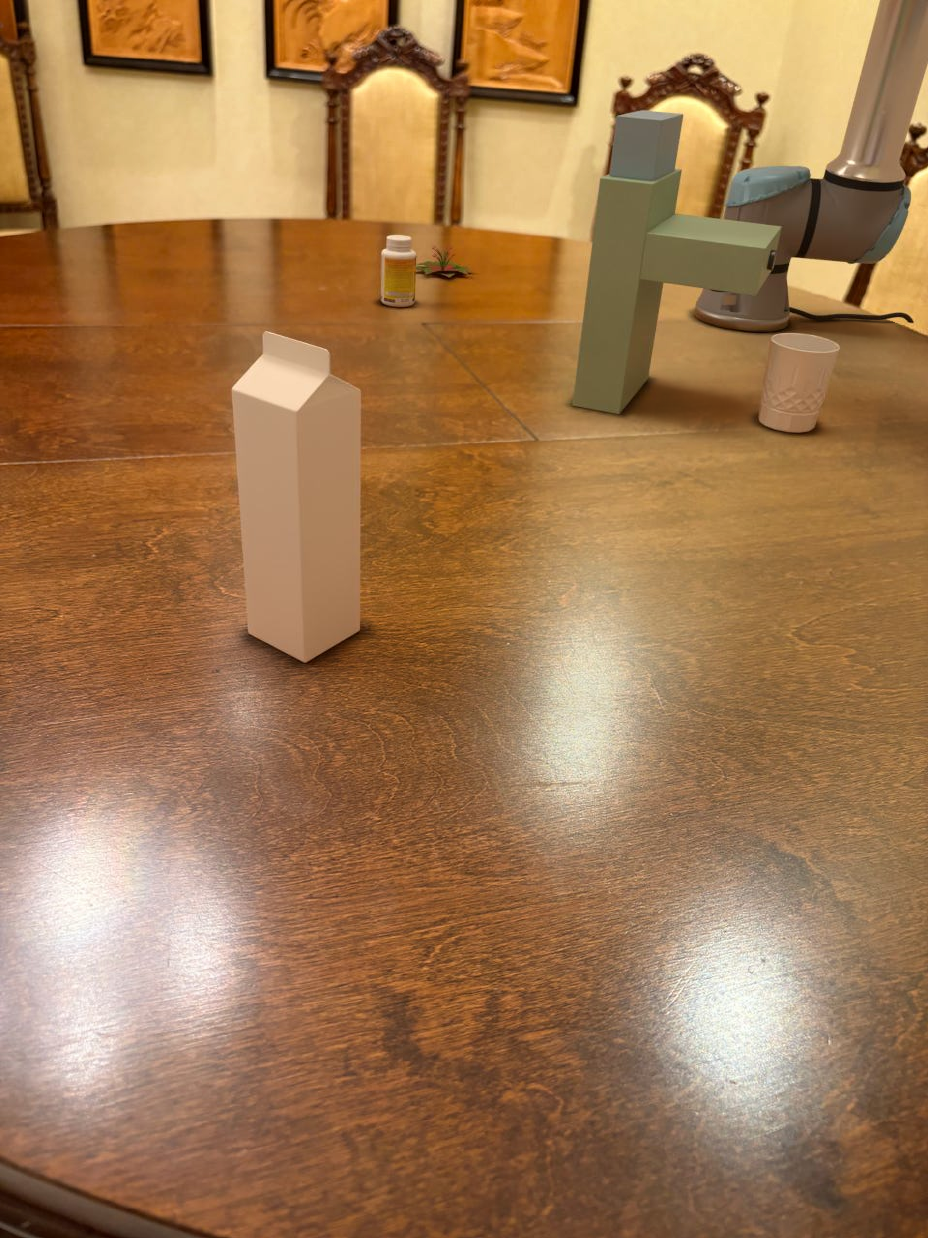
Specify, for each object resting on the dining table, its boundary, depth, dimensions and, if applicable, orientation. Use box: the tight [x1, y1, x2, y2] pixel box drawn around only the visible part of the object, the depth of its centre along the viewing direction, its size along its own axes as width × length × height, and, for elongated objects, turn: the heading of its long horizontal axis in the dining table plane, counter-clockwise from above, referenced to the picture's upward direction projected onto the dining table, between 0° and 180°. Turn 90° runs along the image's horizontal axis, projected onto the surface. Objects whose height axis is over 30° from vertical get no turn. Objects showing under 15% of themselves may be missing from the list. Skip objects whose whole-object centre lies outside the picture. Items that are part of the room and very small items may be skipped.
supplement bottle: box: [380, 234, 417, 308], centre depth 155 cm, size 6×6×10 cm
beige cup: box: [757, 332, 841, 434], centre depth 116 cm, size 8×8×10 cm
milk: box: [231, 331, 362, 663], centre depth 67 cm, size 6×6×22 cm
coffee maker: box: [572, 109, 782, 415], centre depth 115 cm, size 20×16×32 cm
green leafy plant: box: [416, 245, 476, 278], centre depth 177 cm, size 12×12×5 cm
